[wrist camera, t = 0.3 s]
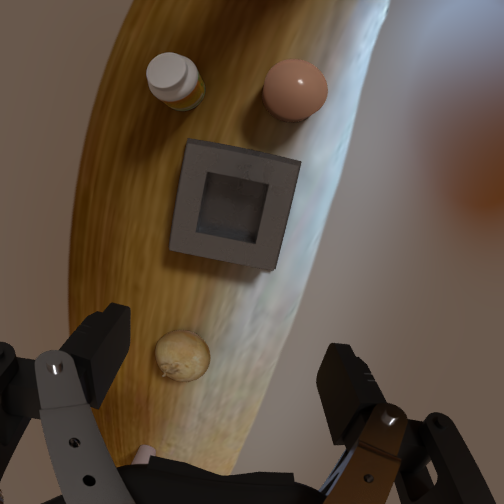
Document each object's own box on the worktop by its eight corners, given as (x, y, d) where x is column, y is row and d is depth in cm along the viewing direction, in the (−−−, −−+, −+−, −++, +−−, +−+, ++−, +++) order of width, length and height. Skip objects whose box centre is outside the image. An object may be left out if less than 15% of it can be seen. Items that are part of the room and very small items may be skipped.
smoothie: (142, 457, 52) (129, 504, 39) (128, 441, 50) (112, 490, 37) (166, 457, 52) (156, 506, 38) (153, 440, 50) (140, 493, 37)
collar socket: (189, 138, 34) (182, 135, 31) (300, 161, 36) (306, 161, 32) (170, 245, 38) (162, 254, 34) (274, 266, 39) (277, 277, 36)
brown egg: (268, 66, 32) (271, 52, 27) (321, 79, 33) (332, 69, 28) (256, 115, 34) (258, 108, 29) (311, 128, 35) (321, 123, 30)
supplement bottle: (214, 92, 33) (205, 68, 24) (181, 120, 34) (161, 106, 24) (187, 65, 32) (170, 36, 22) (155, 92, 32) (129, 72, 23)
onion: (194, 314, 41) (185, 342, 35) (221, 355, 43) (218, 385, 37) (150, 333, 42) (137, 361, 35) (178, 371, 44) (170, 400, 38)
